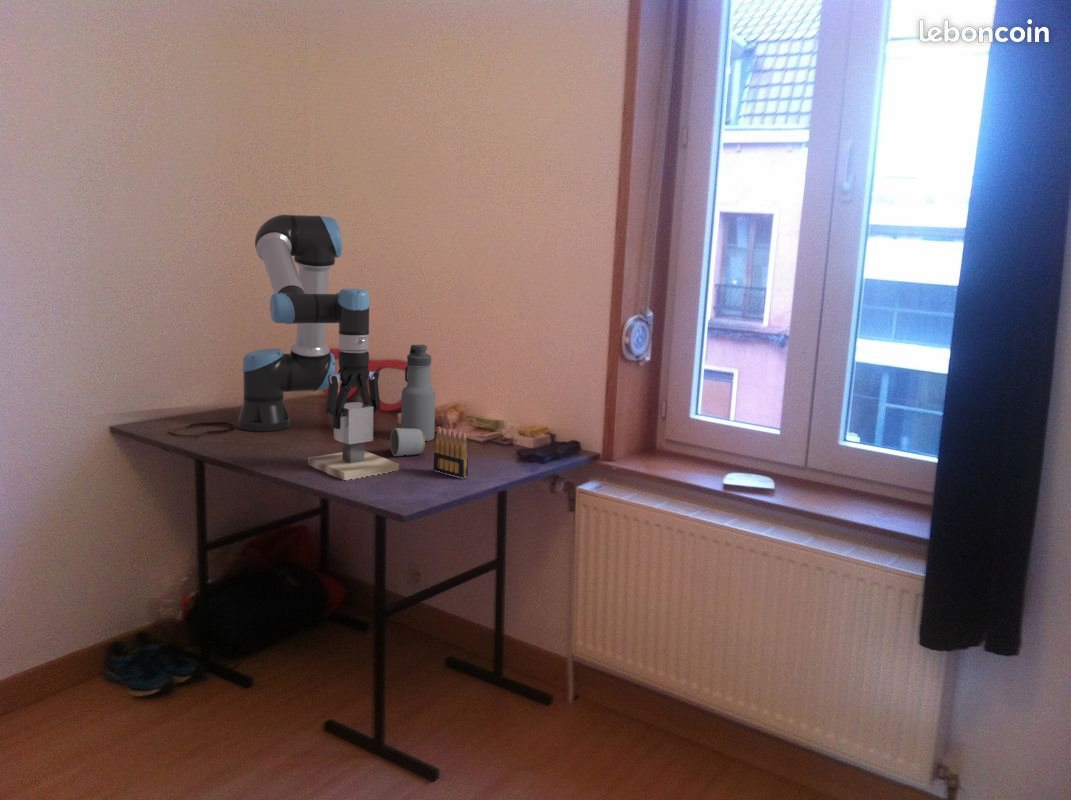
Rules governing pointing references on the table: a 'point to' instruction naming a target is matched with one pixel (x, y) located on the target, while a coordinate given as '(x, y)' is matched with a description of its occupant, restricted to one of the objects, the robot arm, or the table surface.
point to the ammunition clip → (451, 453)
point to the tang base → (352, 463)
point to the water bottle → (418, 393)
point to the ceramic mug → (407, 441)
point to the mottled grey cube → (357, 423)
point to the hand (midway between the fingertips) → (353, 438)
